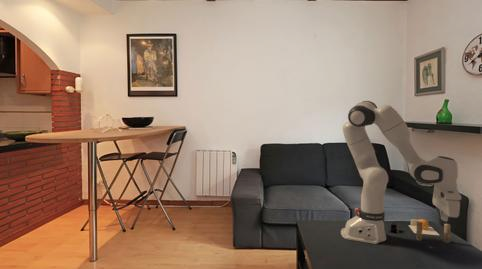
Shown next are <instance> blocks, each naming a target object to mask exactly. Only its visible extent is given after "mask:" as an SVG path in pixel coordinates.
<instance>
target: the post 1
mask: <svg viewBox="0 0 482 269" xmlns="http://www.w3.org/2000/svg"><path fill="white" fill-rule="evenodd" d="M422 226H423V223H422V222H417V228H416V236H415V238H416V240H417V241H423V234H422Z"/></svg>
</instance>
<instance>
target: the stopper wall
mask: <svg viewBox="0 0 482 269" xmlns="http://www.w3.org/2000/svg"><path fill="white" fill-rule="evenodd" d="M419 220H420V219H413V218H411V219H410V225H414V226H417V222H418V221H419Z"/></svg>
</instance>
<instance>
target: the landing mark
mask: <svg viewBox="0 0 482 269" xmlns="http://www.w3.org/2000/svg"><path fill="white" fill-rule="evenodd" d="M407 226H408V228H410V230H411V231H412V232H413V233H414V234H416V228H417V226H414V225H411V224H409V225H407ZM422 235H429V236H430V235H431V236H440V234H439V233H438V231H436V230H435V229H434V228H433V227H432V226H429V227H428V228H427V229H422Z"/></svg>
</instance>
